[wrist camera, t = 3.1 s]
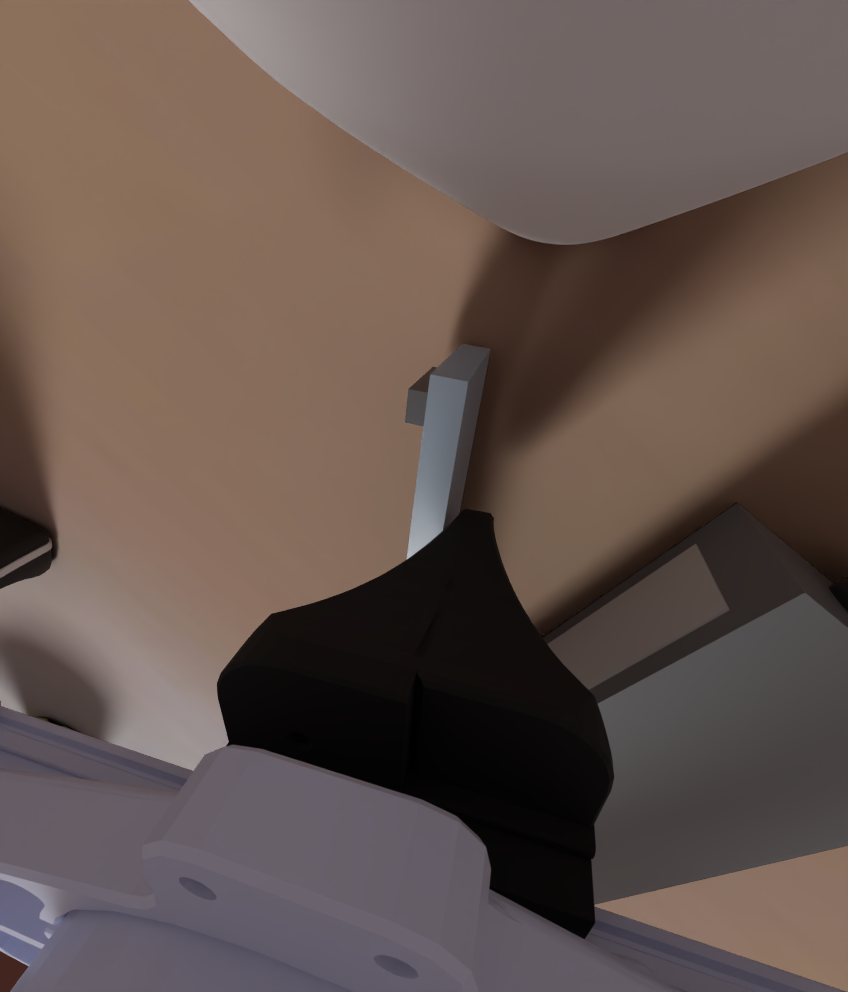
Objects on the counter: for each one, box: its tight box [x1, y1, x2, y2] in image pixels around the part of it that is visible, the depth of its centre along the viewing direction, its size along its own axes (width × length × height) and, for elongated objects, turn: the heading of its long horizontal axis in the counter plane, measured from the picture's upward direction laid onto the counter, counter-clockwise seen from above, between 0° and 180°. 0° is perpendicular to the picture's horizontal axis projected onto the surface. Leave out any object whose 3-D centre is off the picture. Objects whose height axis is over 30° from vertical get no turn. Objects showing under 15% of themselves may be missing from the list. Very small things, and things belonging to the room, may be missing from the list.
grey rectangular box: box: [543, 503, 848, 905], centre depth 15 cm, size 17×8×4 cm, turn 145°
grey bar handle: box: [405, 344, 491, 559], centre depth 15 cm, size 17×2×4 cm, turn 173°
